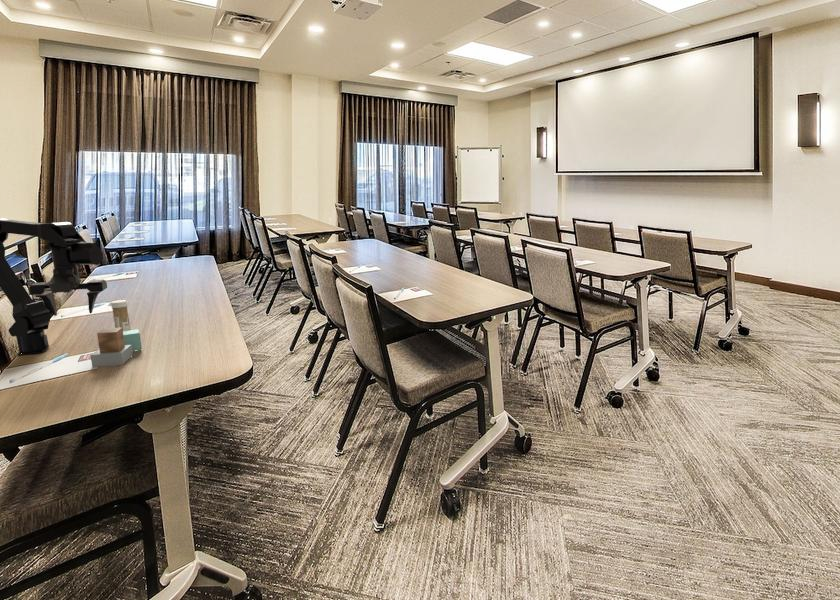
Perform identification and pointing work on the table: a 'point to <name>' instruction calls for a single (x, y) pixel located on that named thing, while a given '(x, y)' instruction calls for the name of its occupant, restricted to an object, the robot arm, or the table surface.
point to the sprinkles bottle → (120, 314)
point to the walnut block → (111, 340)
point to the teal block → (132, 339)
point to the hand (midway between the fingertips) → (73, 314)
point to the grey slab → (111, 357)
